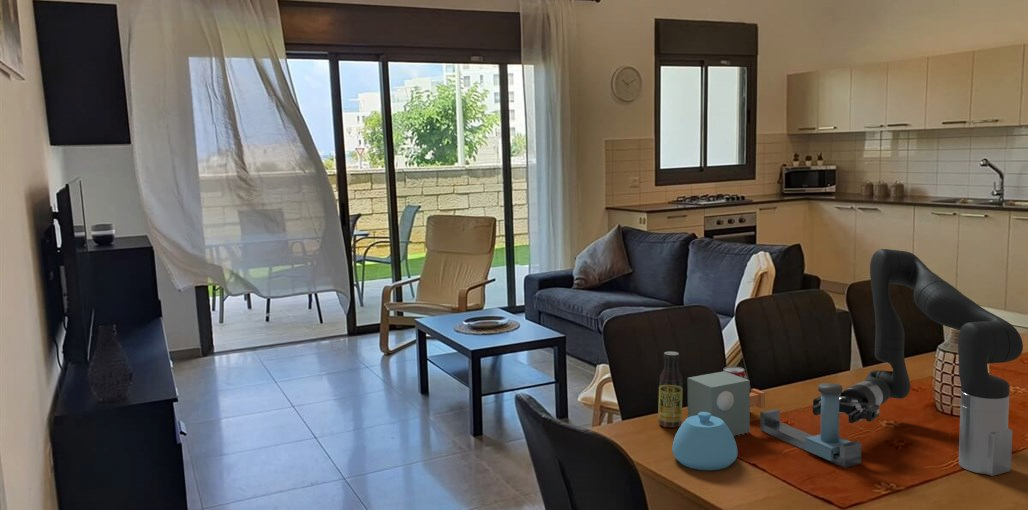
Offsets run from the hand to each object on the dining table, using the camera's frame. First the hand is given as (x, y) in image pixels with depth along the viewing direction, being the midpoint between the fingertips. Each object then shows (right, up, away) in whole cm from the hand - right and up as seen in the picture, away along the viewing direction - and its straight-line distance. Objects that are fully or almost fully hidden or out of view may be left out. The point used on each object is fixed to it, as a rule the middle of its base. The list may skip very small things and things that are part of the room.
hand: (832, 415), depth 185 cm
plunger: (-15, -2, +18) cm, 24 cm away
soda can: (-13, -6, +35) cm, 38 cm away
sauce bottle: (-33, -8, +25) cm, 42 cm away
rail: (-3, -9, +7) cm, 12 cm away
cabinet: (-22, -8, +19) cm, 30 cm away
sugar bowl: (-30, -11, +1) cm, 32 cm away
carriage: (-1, -10, 0) cm, 10 cm away
